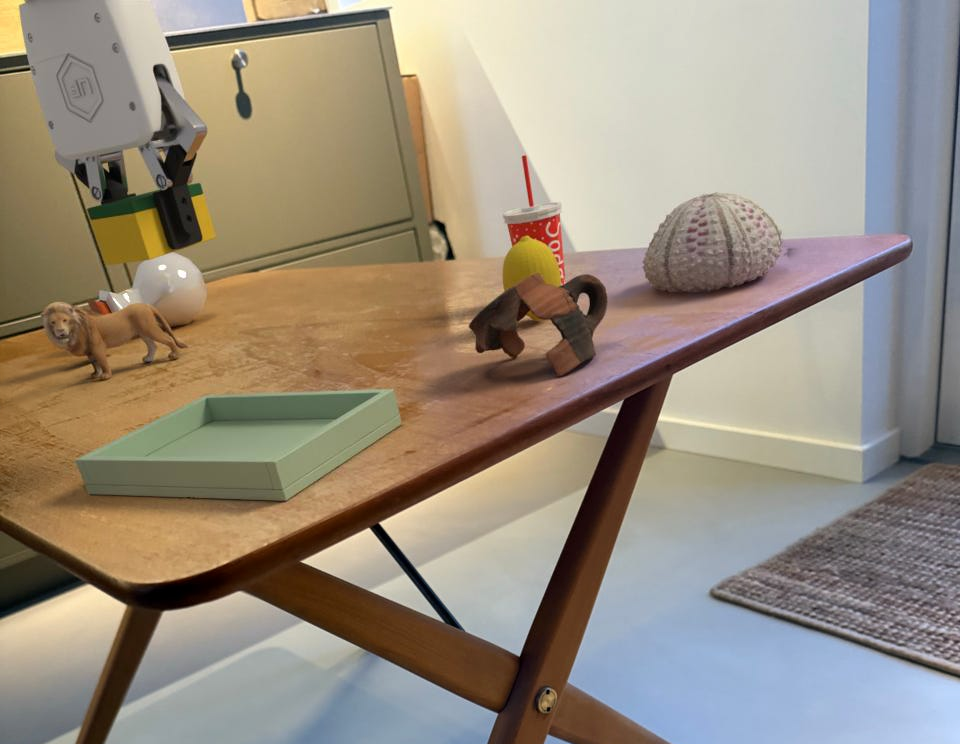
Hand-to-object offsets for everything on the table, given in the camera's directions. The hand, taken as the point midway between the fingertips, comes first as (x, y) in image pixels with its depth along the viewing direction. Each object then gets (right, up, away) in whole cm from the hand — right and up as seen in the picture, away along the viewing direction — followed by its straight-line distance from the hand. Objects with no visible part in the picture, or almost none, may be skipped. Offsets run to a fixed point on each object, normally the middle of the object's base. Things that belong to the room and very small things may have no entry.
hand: (160, 246), depth 78 cm
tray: (+6, -16, 0) cm, 17 cm away
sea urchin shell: (+47, +5, +24) cm, 53 cm away
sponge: (0, 0, 0) cm, 0 cm away
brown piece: (+30, -7, +8) cm, 32 cm away
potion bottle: (-18, +11, +60) cm, 63 cm away
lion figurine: (-16, +1, +39) cm, 43 cm away
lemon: (+30, +1, +23) cm, 38 cm away
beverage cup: (+31, +6, +32) cm, 45 cm away
